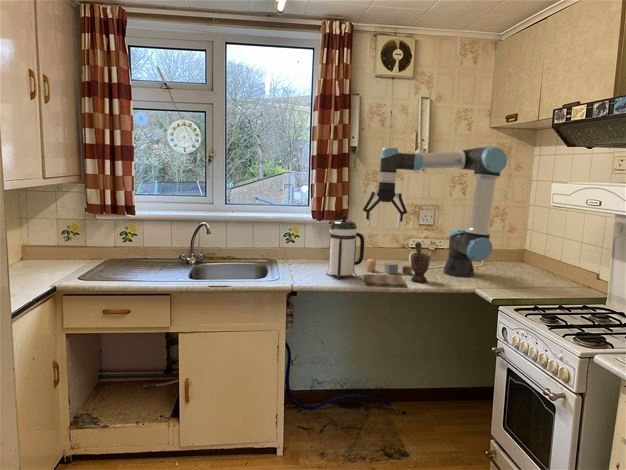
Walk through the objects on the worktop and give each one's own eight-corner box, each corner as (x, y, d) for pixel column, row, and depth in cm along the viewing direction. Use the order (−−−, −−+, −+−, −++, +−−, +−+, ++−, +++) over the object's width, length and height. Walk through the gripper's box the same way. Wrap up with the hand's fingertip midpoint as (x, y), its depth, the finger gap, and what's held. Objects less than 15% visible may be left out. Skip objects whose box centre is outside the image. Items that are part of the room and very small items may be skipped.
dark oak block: (411, 273, 232) (412, 266, 231) (410, 275, 228) (410, 267, 228) (403, 272, 233) (404, 265, 233) (402, 274, 230) (402, 266, 229)
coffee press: (354, 281, 212) (358, 218, 207) (322, 277, 217) (324, 215, 212) (362, 273, 228) (366, 214, 223) (332, 270, 233) (335, 212, 228)
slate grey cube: (393, 271, 235) (394, 262, 234) (397, 274, 230) (398, 264, 229) (384, 272, 234) (385, 262, 233) (388, 274, 229) (388, 264, 228)
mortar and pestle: (429, 285, 210) (433, 243, 207) (411, 284, 211) (414, 242, 208) (426, 279, 221) (430, 239, 218) (408, 278, 222) (411, 238, 219)
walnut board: (400, 278, 221) (400, 275, 221) (406, 287, 205) (406, 284, 205) (363, 277, 221) (363, 274, 221) (366, 285, 206) (366, 282, 205)
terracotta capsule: (374, 270, 236) (375, 259, 235) (375, 272, 232) (376, 260, 231) (366, 269, 236) (366, 258, 235) (367, 272, 232) (367, 260, 231)
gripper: (413, 183, 212) (409, 228, 215) (359, 180, 213) (356, 224, 216) (416, 183, 204) (411, 230, 208) (360, 180, 205) (357, 227, 208)
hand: (383, 227), depth 212 cm, fingers open, 13 cm apart
